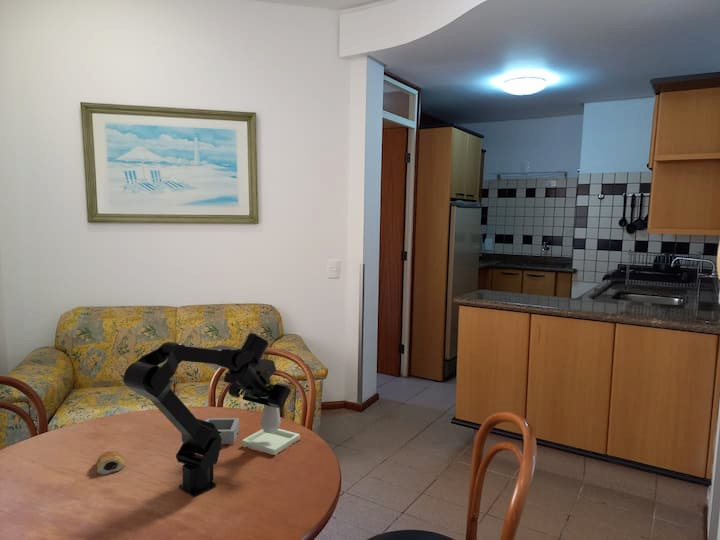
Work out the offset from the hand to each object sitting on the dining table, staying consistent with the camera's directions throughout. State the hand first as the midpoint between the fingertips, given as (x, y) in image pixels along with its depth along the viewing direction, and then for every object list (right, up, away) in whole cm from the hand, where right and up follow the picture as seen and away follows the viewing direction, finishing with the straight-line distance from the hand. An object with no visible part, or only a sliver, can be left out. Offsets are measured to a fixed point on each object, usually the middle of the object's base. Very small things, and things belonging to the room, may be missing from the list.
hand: (271, 405), depth 142 cm
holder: (-17, -11, +4) cm, 20 cm away
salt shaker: (-1, -8, 0) cm, 8 cm away
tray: (0, -12, +1) cm, 12 cm away
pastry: (-40, -12, -15) cm, 44 cm away
